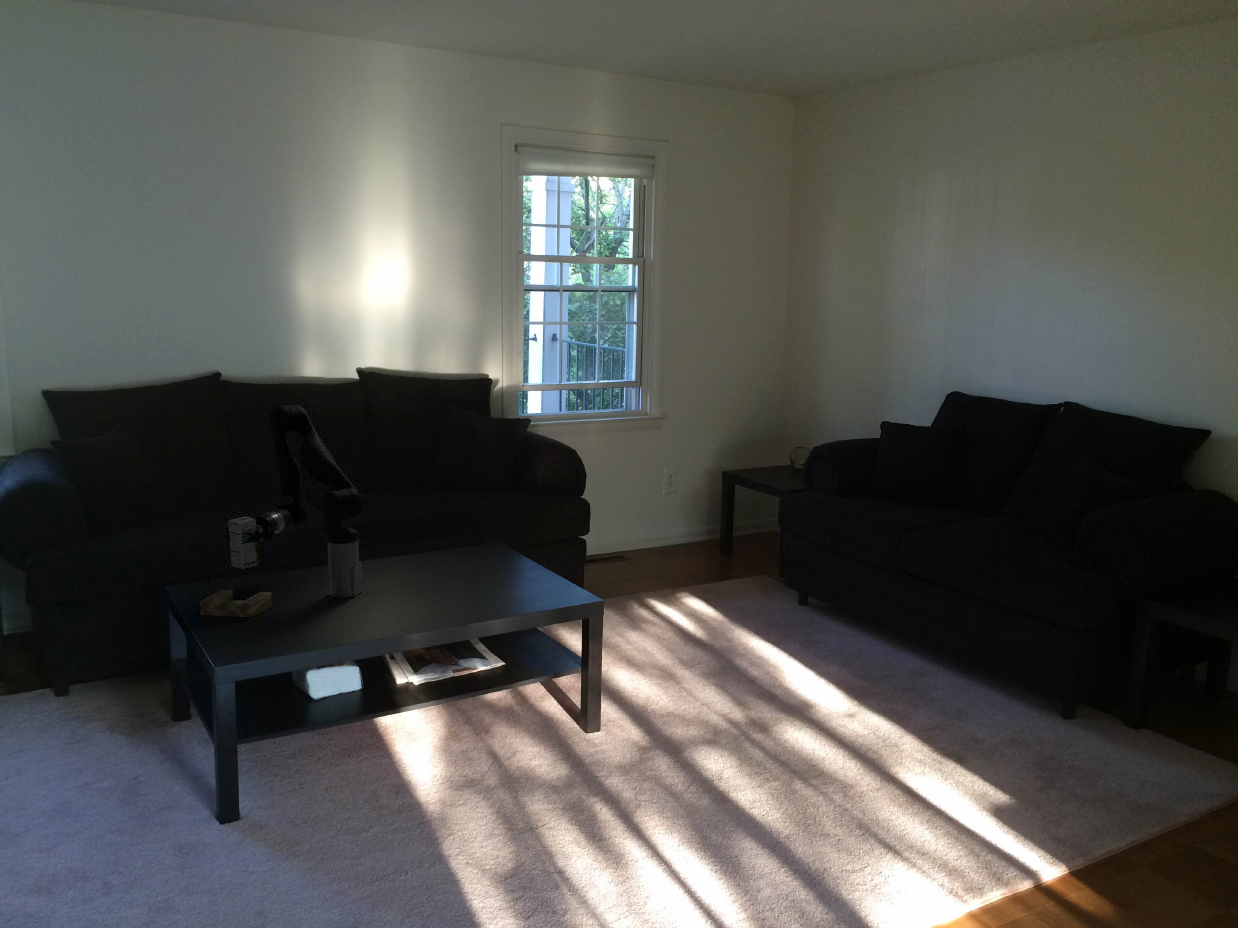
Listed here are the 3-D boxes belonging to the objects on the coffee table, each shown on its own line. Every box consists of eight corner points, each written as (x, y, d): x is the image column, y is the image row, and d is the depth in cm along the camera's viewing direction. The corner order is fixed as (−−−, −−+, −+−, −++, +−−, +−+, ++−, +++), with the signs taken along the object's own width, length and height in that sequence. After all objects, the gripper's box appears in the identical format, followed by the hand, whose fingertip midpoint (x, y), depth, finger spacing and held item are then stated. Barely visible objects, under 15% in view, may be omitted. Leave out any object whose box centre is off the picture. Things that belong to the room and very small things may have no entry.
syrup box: (242, 569, 294) (239, 522, 291) (230, 566, 297) (227, 519, 295) (259, 565, 298) (256, 518, 296) (247, 561, 302) (244, 515, 299)
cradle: (271, 604, 298) (271, 592, 297) (251, 617, 286) (250, 604, 286) (222, 602, 300) (221, 589, 300) (200, 614, 289) (199, 601, 288)
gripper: (245, 512, 311) (216, 524, 295) (288, 514, 308) (261, 527, 292) (247, 535, 312) (218, 549, 296) (289, 538, 310) (262, 551, 294)
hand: (239, 538), depth 294 cm, fingers closed on syrup box, 7 cm apart
